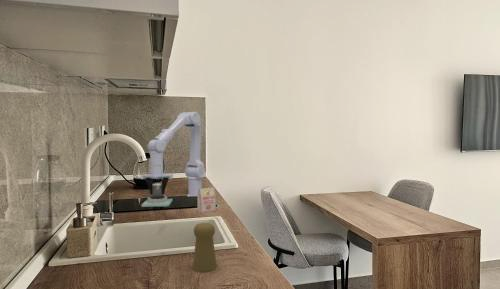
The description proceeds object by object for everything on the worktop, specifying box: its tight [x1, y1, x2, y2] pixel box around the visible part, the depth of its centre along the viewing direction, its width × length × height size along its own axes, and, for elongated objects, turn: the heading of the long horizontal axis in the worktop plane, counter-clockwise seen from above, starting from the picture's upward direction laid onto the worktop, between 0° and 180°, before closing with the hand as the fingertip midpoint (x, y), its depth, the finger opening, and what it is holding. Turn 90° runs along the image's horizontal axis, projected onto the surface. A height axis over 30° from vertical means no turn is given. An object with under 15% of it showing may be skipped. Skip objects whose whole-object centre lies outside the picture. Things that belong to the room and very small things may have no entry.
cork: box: [192, 222, 218, 273], centre depth 86 cm, size 6×6×11 cm
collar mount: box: [147, 195, 168, 204], centre depth 162 cm, size 9×9×2 cm
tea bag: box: [196, 187, 217, 214], centre depth 146 cm, size 4×7×10 cm, turn 118°
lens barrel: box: [151, 182, 164, 199], centre depth 162 cm, size 5×5×8 cm
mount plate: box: [141, 198, 174, 208], centre depth 162 cm, size 12×12×1 cm
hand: (157, 193), depth 162 cm, fingers closed on lens barrel, 5 cm apart
